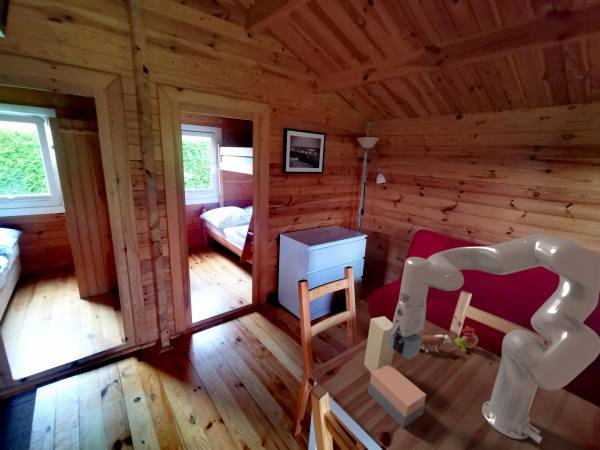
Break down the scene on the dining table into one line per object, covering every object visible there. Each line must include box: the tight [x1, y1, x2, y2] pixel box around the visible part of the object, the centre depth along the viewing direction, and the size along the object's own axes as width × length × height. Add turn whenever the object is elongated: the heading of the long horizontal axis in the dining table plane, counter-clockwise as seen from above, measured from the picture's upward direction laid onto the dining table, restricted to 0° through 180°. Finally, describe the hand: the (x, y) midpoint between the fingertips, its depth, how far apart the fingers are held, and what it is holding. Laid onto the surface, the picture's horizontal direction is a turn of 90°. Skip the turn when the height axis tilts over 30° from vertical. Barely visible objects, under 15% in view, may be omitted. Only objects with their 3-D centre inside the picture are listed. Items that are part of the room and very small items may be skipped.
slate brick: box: [388, 327, 422, 361], centre depth 87 cm, size 8×5×6 cm, turn 31°
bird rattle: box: [453, 325, 479, 353], centre depth 122 cm, size 6×11×9 cm
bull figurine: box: [420, 333, 453, 354], centre depth 119 cm, size 4×13×8 cm, turn 89°
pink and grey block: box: [367, 364, 427, 429], centre depth 92 cm, size 15×10×8 cm, turn 31°
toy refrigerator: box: [363, 315, 395, 374], centre depth 104 cm, size 8×7×21 cm
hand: (403, 348), depth 87 cm, fingers closed on slate brick, 5 cm apart
